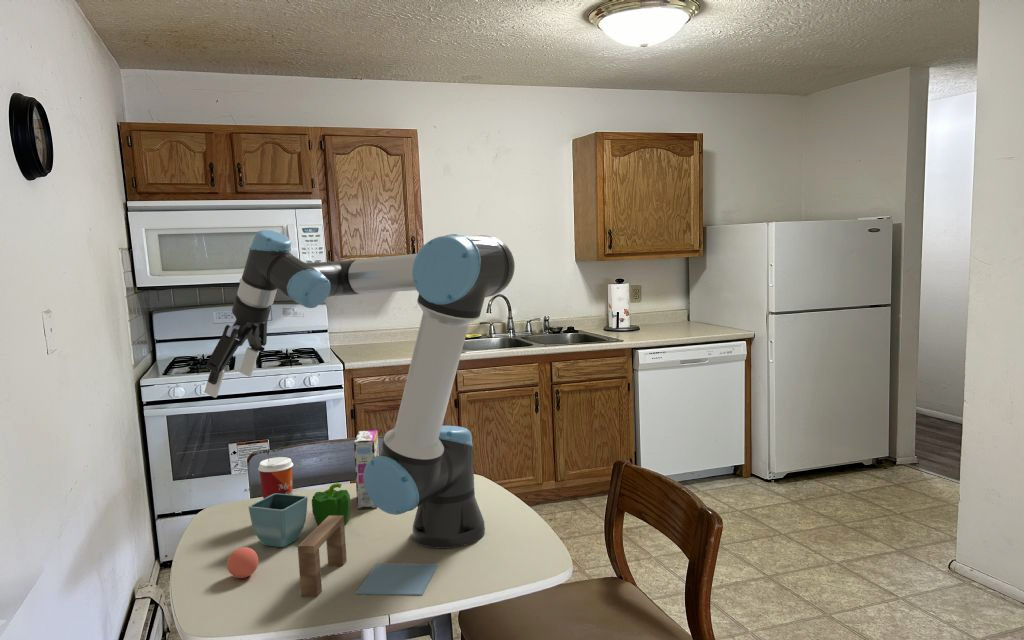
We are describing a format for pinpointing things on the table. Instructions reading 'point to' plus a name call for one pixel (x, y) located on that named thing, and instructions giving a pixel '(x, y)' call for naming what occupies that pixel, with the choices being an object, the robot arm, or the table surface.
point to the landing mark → (397, 579)
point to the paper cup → (276, 476)
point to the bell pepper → (331, 504)
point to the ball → (242, 562)
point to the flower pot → (278, 518)
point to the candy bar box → (364, 464)
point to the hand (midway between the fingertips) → (228, 384)
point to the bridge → (310, 557)
